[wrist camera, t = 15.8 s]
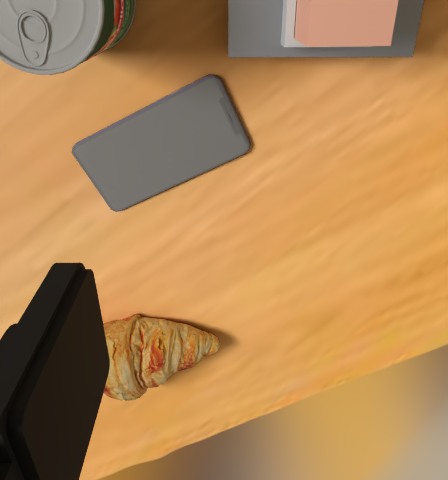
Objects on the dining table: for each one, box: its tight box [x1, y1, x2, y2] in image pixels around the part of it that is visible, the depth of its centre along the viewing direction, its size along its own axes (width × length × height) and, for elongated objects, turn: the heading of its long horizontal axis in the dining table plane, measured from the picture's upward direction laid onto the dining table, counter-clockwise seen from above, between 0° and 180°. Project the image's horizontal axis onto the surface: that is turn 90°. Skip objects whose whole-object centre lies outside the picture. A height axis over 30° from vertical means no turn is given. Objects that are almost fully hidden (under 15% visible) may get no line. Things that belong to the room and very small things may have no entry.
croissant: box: [103, 314, 220, 401], centre depth 49 cm, size 21×10×8 cm, turn 100°
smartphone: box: [72, 75, 250, 212], centre depth 39 cm, size 8×1×15 cm
